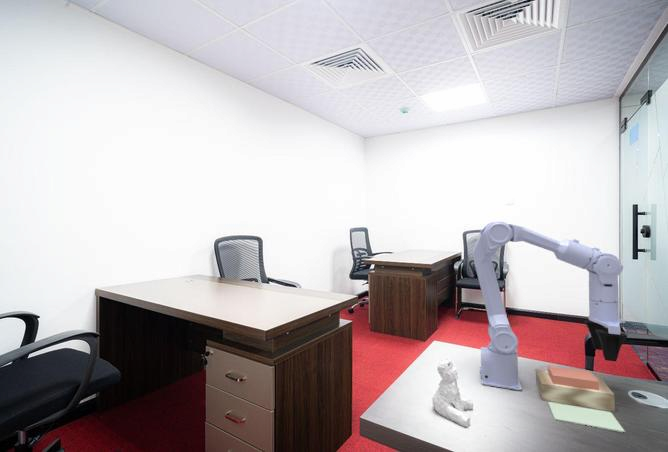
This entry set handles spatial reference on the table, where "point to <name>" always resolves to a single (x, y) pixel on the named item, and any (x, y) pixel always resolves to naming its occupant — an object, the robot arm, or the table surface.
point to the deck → (575, 393)
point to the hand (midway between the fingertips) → (604, 354)
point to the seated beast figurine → (451, 396)
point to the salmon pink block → (573, 378)
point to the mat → (585, 416)
